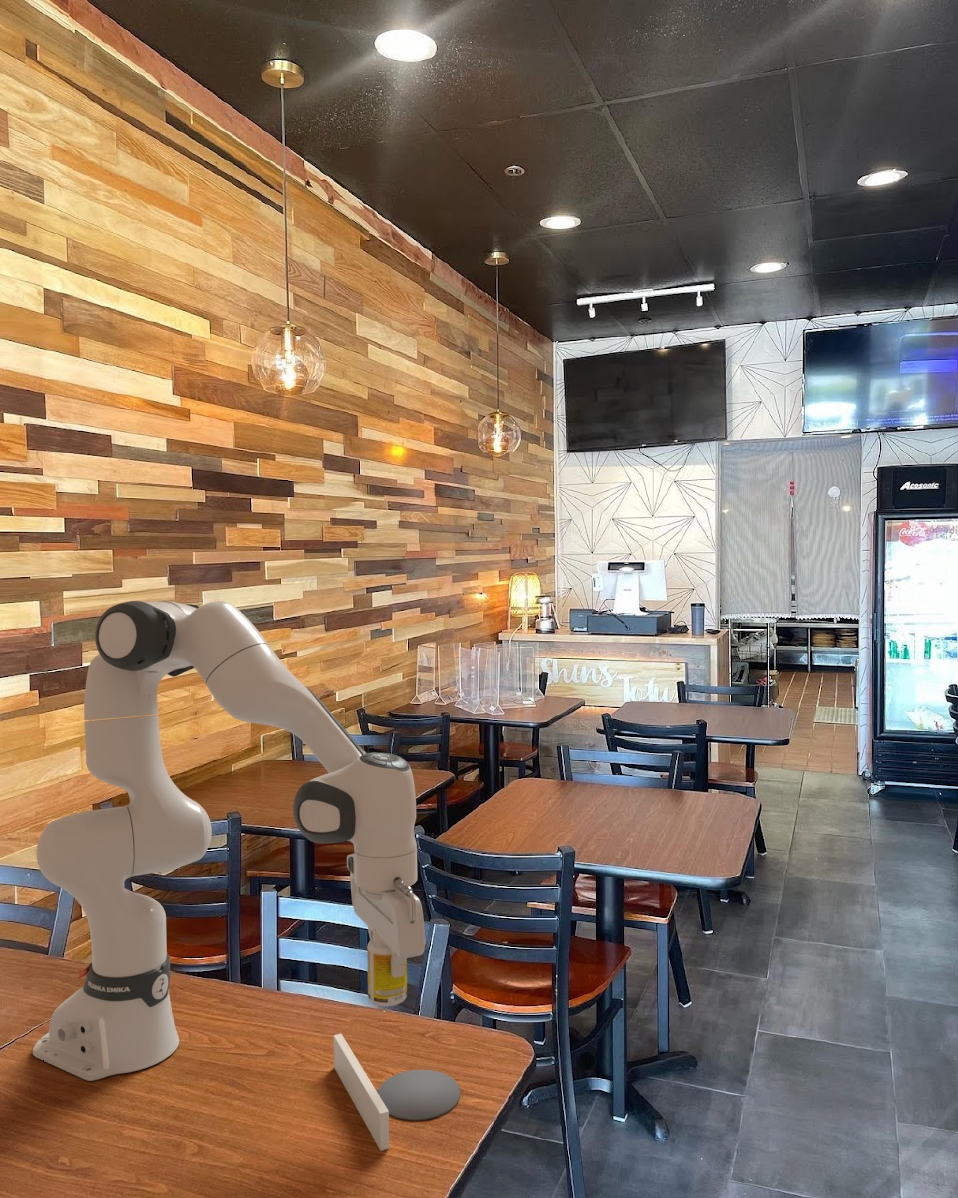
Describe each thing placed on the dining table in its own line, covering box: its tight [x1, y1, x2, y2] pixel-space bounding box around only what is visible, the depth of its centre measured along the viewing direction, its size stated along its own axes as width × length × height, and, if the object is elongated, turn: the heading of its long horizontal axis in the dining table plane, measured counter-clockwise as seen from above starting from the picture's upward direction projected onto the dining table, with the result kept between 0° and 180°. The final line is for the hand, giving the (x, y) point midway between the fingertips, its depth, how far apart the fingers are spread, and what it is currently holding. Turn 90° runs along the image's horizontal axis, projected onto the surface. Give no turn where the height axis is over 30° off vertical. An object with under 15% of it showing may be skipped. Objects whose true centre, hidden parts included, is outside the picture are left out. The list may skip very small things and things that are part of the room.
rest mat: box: [377, 1069, 461, 1121], centre depth 132 cm, size 12×12×1 cm
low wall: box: [333, 1033, 390, 1152], centre depth 130 cm, size 22×1×5 cm, turn 25°
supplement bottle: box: [366, 929, 408, 1007], centre depth 129 cm, size 6×6×10 cm
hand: (387, 966), depth 130 cm, fingers closed on supplement bottle, 5 cm apart
